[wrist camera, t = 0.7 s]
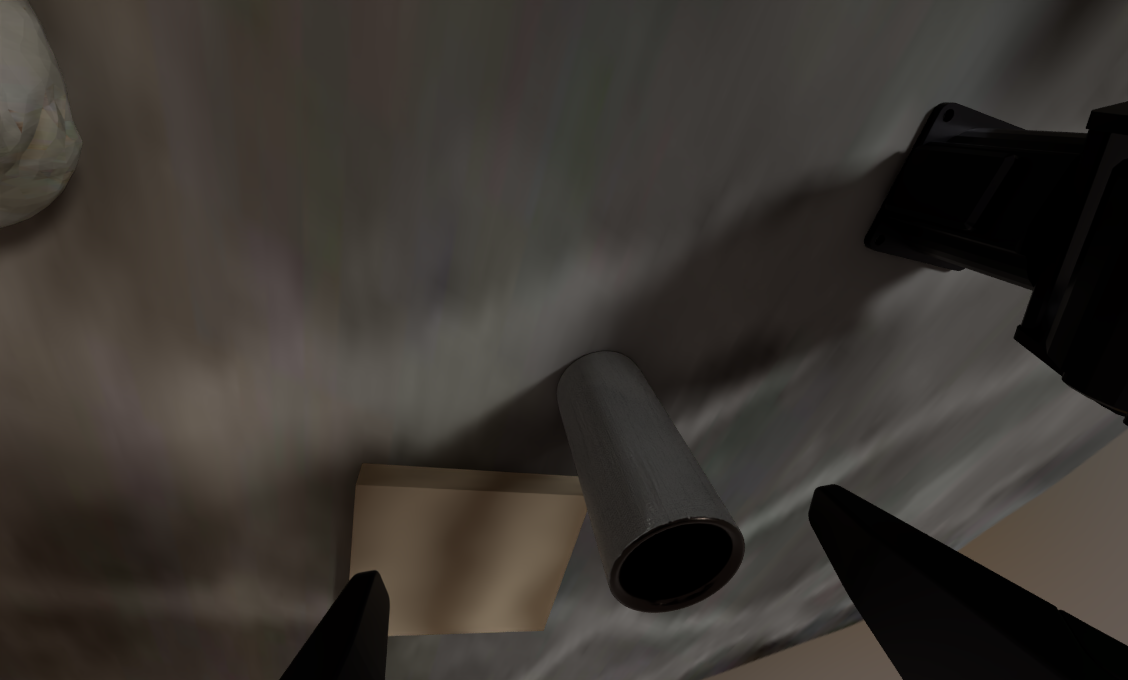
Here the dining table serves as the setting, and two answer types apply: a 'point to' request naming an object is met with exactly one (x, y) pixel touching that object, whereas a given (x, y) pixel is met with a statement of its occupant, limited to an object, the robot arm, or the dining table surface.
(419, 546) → the oak block
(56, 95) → the white eared plush toy
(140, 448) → the dining table surface
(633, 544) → the grey hollow cylinder
